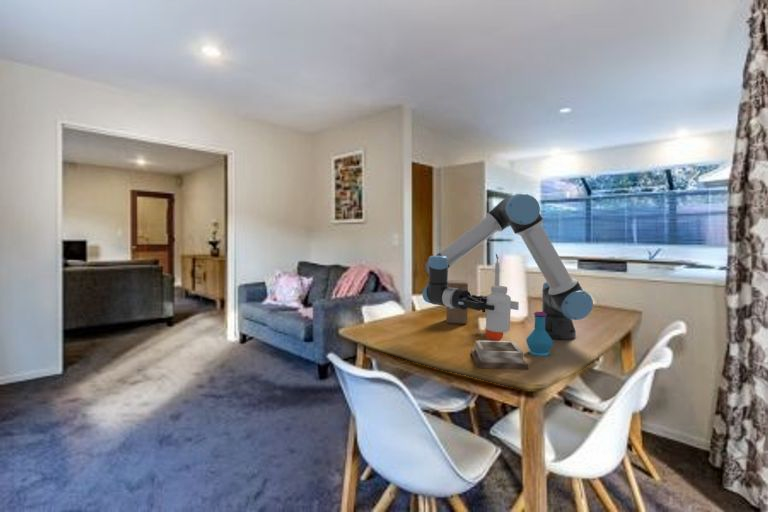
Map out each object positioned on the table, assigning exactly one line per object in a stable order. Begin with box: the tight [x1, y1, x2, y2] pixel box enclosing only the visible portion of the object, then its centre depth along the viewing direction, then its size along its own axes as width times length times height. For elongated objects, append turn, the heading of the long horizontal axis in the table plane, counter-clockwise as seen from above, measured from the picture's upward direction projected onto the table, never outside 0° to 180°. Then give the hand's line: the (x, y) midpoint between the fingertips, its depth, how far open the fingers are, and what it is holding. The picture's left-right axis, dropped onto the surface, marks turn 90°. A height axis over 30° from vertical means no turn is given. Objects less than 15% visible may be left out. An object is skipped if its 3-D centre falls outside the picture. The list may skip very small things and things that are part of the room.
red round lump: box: [485, 328, 504, 341], centre depth 160 cm, size 8×7×7 cm
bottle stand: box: [470, 340, 529, 370], centre depth 136 cm, size 16×16×5 cm
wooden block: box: [445, 279, 469, 325], centre depth 194 cm, size 10×10×20 cm
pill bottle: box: [485, 285, 512, 333], centre depth 135 cm, size 8×8×15 cm
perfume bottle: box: [525, 311, 554, 357], centre depth 144 cm, size 9×9×15 cm
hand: (511, 307), depth 131 cm, fingers closed on pill bottle, 8 cm apart
